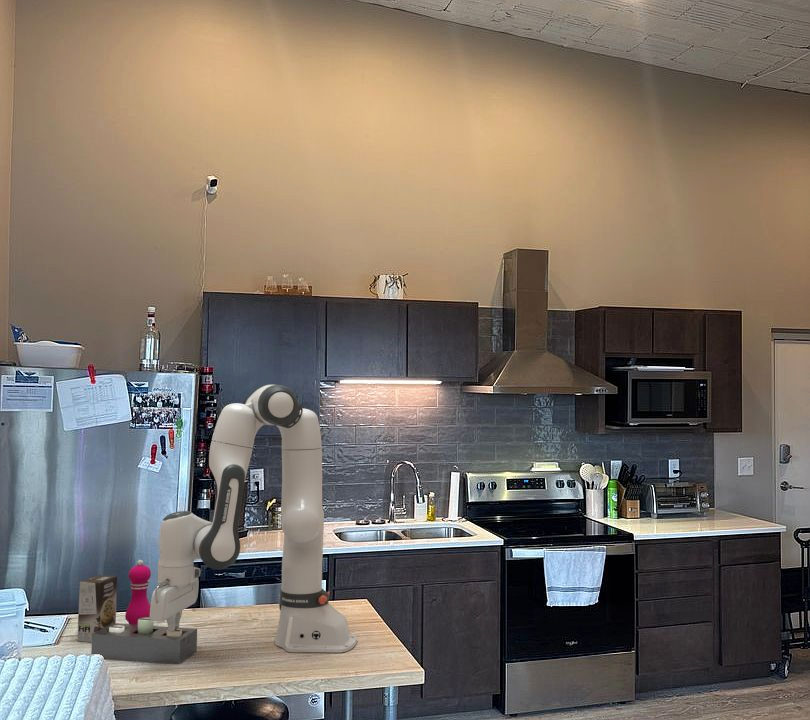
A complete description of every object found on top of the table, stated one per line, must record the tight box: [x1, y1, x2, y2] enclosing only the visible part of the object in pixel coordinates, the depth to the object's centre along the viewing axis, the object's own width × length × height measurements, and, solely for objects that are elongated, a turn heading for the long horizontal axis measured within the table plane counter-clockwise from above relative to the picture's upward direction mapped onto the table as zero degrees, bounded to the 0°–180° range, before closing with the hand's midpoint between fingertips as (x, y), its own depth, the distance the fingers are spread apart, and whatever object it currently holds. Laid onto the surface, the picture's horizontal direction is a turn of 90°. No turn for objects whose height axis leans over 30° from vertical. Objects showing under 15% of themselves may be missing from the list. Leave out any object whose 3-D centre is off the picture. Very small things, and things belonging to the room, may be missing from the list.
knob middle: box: [138, 618, 154, 635], centre depth 206 cm, size 4×4×5 cm
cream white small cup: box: [167, 629, 182, 637], centre depth 204 cm, size 4×4×5 cm
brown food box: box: [76, 574, 118, 643], centre depth 220 cm, size 9×6×16 cm
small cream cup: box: [109, 625, 125, 633], centre depth 207 cm, size 4×4×5 cm
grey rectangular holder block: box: [91, 622, 198, 665], centre depth 205 cm, size 24×10×6 cm, turn 80°
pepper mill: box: [124, 559, 152, 625], centre depth 226 cm, size 7×7×20 cm
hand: (173, 629), depth 204 cm, fingers closed
